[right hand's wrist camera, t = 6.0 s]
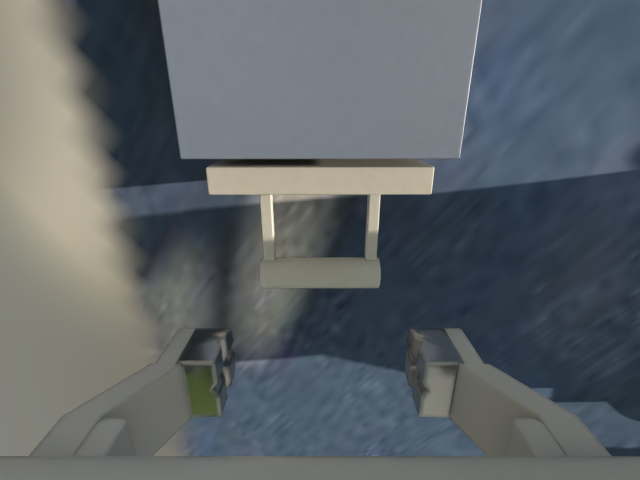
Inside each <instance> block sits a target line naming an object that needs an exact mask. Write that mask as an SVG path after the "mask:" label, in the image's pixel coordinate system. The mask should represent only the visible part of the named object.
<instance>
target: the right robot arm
mask: <svg viewBox="0 0 640 480" xmlns="http://www.w3.org/2000/svg"><path fill="white" fill-rule="evenodd" d="M232 342H233V336H232V331H231V330H230V329H216V328H181V329H178V330H177V332H176V333H175V335H174V336H173V338H172V339H171V341H170V343H169V344H168V346H167V347H166V349H165V350H164V352H163V353H162V355H161V356H160V358H159V359H158V361H157V362H156V364H149V365H148V366H146V367H144V368H143V369H141V370H139V371H138V372H136V373H134V374H133V375H131V376H129V377H127V378H126V379H124V380H122V381H121V382H119V383H117V384H116V385H114V386H112V387H111V388H109V389H107V390H105V391H104V392H102V393H100V394H99V395H97V396H95V397H94V398H92V399H90V400H89V401H87V402H85V403H84V404H82V405H80V406H78V407H77V408H75V409H73V410H72V411H70V412H68V413H67V414H65V415H63V416H62V417H61V418H60V419H59V421H58V422H57V423H56V424H55V425H54V426H53V428H52V429H51V430H50V431H49V432H48V434H47V435H46V436H45V437H44V438H43V440H42V441H41V442H40V443H39V444H38V445H37V447H36V448H35V449H34V450H33V451H32V452H31V454H30V455H29V456H0V480H640V456H611V455H610V454H609V453H608V451H607V450H606V449H605V448H604V447H603V445H602V444H601V443H600V442H599V441H598V439H597V438H596V437H595V436H594V435H593V433H592V432H591V431H590V430H589V429H588V428H587V426H586V425H585V424H584V423H583V422H582V420H581V419H580V418H579V417H578V416H577V415H575V414H573V413H571V412H570V411H568V410H566V409H565V408H563V407H561V406H560V405H558V404H556V403H555V402H553V401H551V400H550V399H548V398H546V397H544V396H543V395H541V394H539V393H538V392H536V391H534V390H533V389H531V388H529V387H528V386H526V385H524V384H523V383H521V382H519V381H517V380H516V379H514V378H512V377H511V376H509V375H507V374H506V373H504V372H502V371H501V370H499V369H497V368H496V367H494V366H492V365H490V364H484V363H483V361H482V360H481V358H480V357H479V355H478V353H477V352H476V350H475V349H474V347H473V346H472V344H471V343H470V341H469V340H468V338H467V337H466V335H465V334H464V332H463V331H462V329H460V328H442V329H409V331H408V335H407V342H408V345H409V348H410V349H409V350H408V351H407V352H406V353H405V373H406V378H407V381H408V385H409V386H410V387H411V388H413V400H414V403H415V406H416V409H417V412H418V415H419V416H425V417H450V420H451V421H452V422H453V423H454V424H455V425H456V426H457V427H458V428H459V429H461V430H462V431H463V432H464V433H465V434H466V435H467V436H468V437H469V438H470V439H471V440H472V441H473V442H474V443H475V444H476V445H477V446H478V447H479V448H480V449H481V450H482V451H483V452H484V453H485V454H486V455H487V456H153V455H154V454H155V453H156V452H157V451H158V450H159V449H160V448H161V447H162V446H163V445H164V444H165V443H166V442H167V441H168V440H169V439H170V438H171V437H173V436H174V435H175V434H176V433H177V432H178V431H179V430H180V429H181V428H182V427H183V426H184V425H185V424H186V423H187V422H188V421H189V420H190V417H214V416H221V415H222V412H223V409H224V406H225V403H226V400H227V388H228V387H230V386H231V384H232V381H233V378H234V371H235V354H234V352H233V351H232V350H231V349H230V348H231V345H232Z"/></svg>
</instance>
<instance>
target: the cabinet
mask: <svg viewBox="0 0 640 480" xmlns="http://www.w3.org/2000/svg"><path fill="white" fill-rule="evenodd" d="M481 5H482V0H158V7H159V14H160V20H161V27H162V34H163V41H164V48H165V55H166V62H167V69H168V76H169V83H170V89H171V96H172V103H173V110H174V117H175V124H176V131H177V138H178V145H179V152H180V158H181V159H459V158H460V152H461V145H462V138H463V131H464V124H465V117H466V110H467V103H468V96H469V89H470V82H471V75H472V68H473V61H474V54H475V47H476V40H477V33H478V26H479V19H480V12H481Z"/></svg>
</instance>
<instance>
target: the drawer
mask: <svg viewBox="0 0 640 480" xmlns="http://www.w3.org/2000/svg"><path fill="white" fill-rule="evenodd" d="M206 175H207V183H208V192H209V194H210V195H260V210H261V226H262V241H263V256H264V258H262V259H261V262H260V272H259V276H260V285H261V288H379V286H380V281H381V268H380V261H379V258H377V243H378V227H379V211H380V196H381V195H388V194H431V193H432V184H433V176H434V167H432V166H431V165H429V164H427V163H425V162H423V161H421V160H419V159H221V160H219V161H218V162H216V163H214V164H212V165H210V166H208V167H206ZM272 195H368V200H367V220H366V240H365V257H292V258H275V256H276V255H275V236H274V217H273V198H272Z"/></svg>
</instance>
